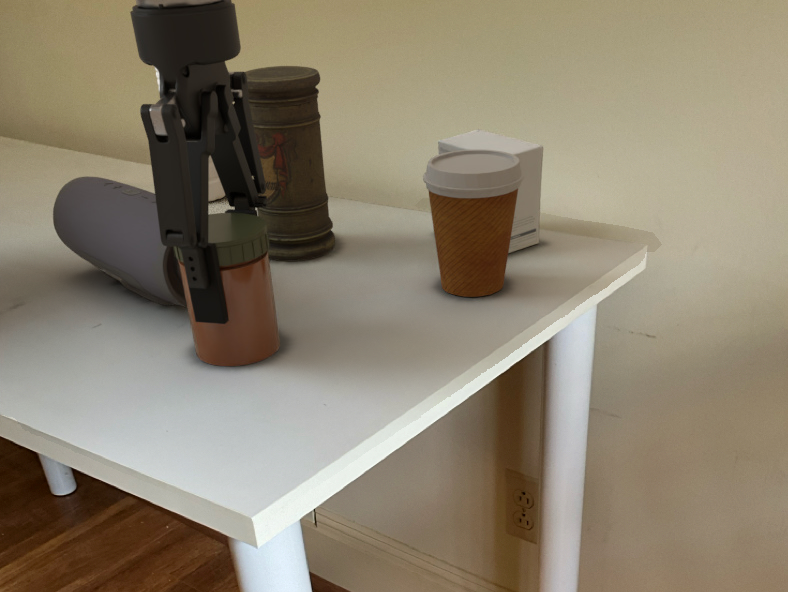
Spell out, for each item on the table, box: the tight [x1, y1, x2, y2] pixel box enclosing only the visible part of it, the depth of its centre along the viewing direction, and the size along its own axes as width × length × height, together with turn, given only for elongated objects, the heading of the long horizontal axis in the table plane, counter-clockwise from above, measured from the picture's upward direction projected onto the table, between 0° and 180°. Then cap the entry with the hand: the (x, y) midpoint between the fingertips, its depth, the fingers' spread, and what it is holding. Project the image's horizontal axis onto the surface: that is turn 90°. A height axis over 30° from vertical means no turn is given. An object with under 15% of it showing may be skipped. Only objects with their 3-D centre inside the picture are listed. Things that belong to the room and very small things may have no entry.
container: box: [244, 65, 336, 262], centre depth 95 cm, size 9×9×18 cm
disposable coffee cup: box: [422, 150, 524, 298], centre depth 86 cm, size 10×10×12 cm
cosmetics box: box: [437, 128, 544, 254], centre depth 98 cm, size 10×6×10 cm, turn 37°
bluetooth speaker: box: [52, 176, 187, 308], centre depth 89 cm, size 23×9×10 cm, turn 43°
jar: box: [178, 250, 281, 367], centre depth 77 cm, size 8×8×10 cm
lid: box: [173, 212, 270, 266], centre depth 74 cm, size 8×8×2 cm
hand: (232, 301), depth 77 cm, fingers closed on lid, 8 cm apart
